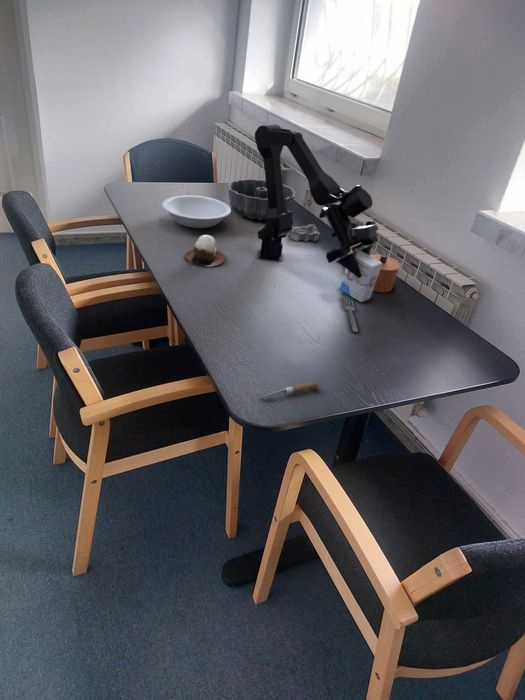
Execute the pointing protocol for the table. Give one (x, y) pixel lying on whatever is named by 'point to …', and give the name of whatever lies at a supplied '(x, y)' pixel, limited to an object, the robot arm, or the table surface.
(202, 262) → the brown and cream dessert
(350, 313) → the fork
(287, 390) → the folding knife
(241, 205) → the bundt pan
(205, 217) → the soup bowl
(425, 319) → the table surface
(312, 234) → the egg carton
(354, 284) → the ink box
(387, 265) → the pot lid
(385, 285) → the pot
